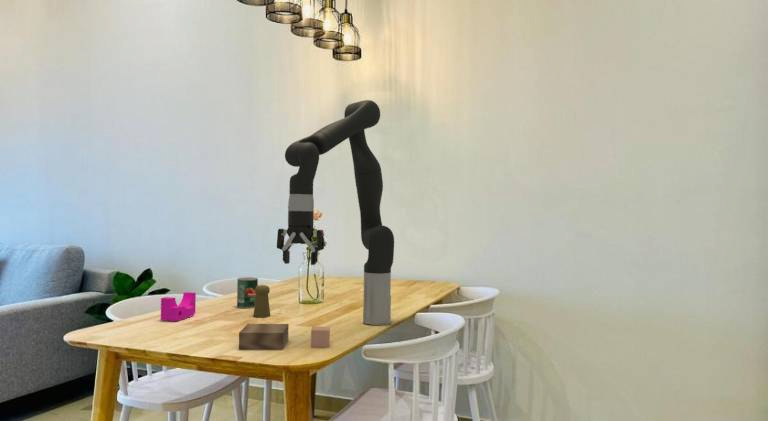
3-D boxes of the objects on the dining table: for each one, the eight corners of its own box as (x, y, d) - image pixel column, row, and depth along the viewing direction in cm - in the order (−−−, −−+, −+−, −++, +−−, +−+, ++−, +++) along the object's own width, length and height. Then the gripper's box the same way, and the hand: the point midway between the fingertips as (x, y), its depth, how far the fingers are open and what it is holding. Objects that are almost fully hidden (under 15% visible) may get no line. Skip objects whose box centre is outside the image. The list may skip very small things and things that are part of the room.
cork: (249, 316, 199) (250, 285, 199) (259, 313, 205) (260, 283, 205) (264, 318, 197) (264, 287, 197) (273, 315, 202) (274, 284, 202)
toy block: (176, 321, 190) (176, 299, 190) (160, 319, 192) (160, 298, 192) (201, 313, 205) (201, 292, 205) (186, 312, 206) (186, 292, 206)
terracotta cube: (329, 343, 161) (329, 326, 161) (328, 348, 156) (328, 330, 156) (312, 343, 161) (312, 326, 161) (310, 348, 156) (311, 330, 156)
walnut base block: (288, 340, 165) (288, 323, 165) (282, 351, 153) (283, 332, 153) (247, 340, 165) (247, 323, 165) (238, 350, 153) (239, 332, 153)
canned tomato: (241, 304, 224) (241, 277, 224) (260, 305, 223) (260, 277, 223) (233, 307, 216) (234, 279, 216) (253, 308, 215) (254, 280, 215)
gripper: (327, 210, 167) (326, 264, 167) (284, 209, 171) (283, 262, 171) (318, 210, 160) (317, 266, 160) (273, 209, 164) (272, 264, 164)
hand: (299, 264), depth 166 cm, fingers open, 8 cm apart
